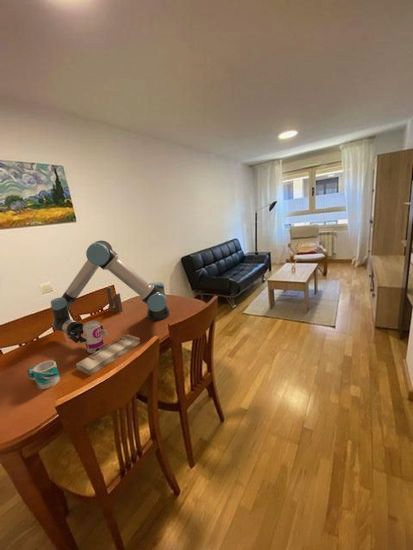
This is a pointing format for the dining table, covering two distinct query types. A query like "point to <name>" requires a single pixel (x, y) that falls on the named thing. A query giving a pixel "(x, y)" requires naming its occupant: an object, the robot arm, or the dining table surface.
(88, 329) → the supplement can
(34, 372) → the mug
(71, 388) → the dining table surface
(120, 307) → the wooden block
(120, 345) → the grey compartment tray
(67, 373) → the dining table surface
